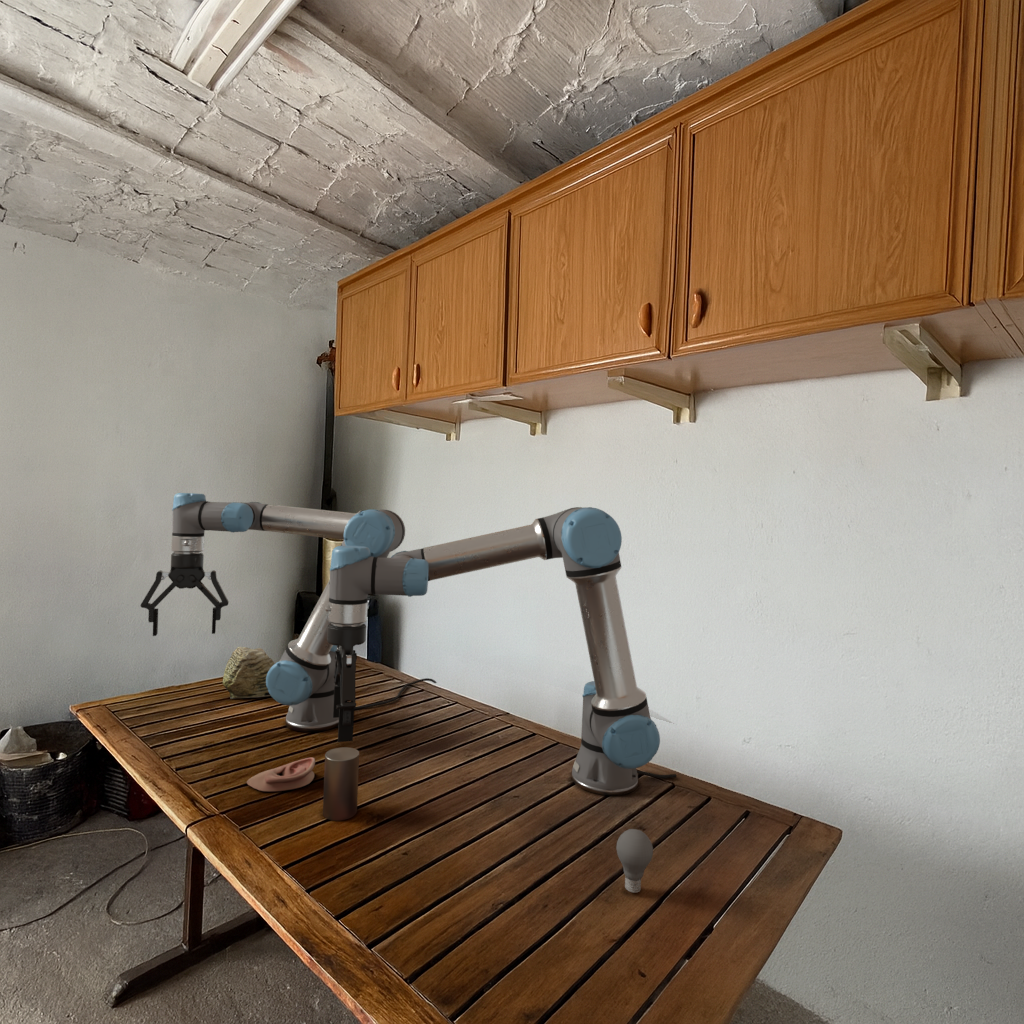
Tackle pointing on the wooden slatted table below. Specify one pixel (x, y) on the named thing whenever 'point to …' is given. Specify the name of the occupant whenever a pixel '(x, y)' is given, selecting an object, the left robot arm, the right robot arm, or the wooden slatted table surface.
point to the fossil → (247, 673)
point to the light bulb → (634, 857)
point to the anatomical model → (284, 776)
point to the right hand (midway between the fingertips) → (342, 728)
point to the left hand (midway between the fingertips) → (184, 633)
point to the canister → (340, 783)
